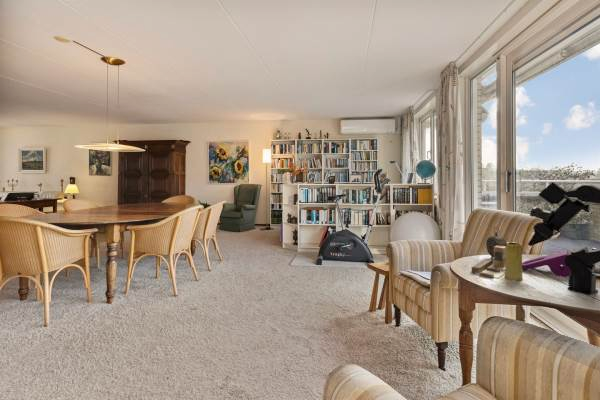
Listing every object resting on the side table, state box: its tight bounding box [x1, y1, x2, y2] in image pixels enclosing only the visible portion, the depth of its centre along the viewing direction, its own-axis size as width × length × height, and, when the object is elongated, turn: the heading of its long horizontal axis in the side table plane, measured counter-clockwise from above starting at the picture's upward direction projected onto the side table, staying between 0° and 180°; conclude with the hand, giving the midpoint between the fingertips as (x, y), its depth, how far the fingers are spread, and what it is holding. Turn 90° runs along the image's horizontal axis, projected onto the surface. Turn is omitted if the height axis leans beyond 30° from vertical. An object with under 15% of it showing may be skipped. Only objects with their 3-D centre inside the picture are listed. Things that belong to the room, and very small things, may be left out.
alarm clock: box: [485, 226, 507, 259], centre depth 159 cm, size 11×5×16 cm, turn 179°
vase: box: [503, 241, 523, 281], centre depth 130 cm, size 6×6×14 cm
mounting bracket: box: [522, 249, 571, 278], centre depth 138 cm, size 9×8×18 cm
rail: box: [471, 245, 506, 279], centre depth 142 cm, size 11×24×9 cm, turn 134°
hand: (532, 243), depth 126 cm, fingers open, 9 cm apart
